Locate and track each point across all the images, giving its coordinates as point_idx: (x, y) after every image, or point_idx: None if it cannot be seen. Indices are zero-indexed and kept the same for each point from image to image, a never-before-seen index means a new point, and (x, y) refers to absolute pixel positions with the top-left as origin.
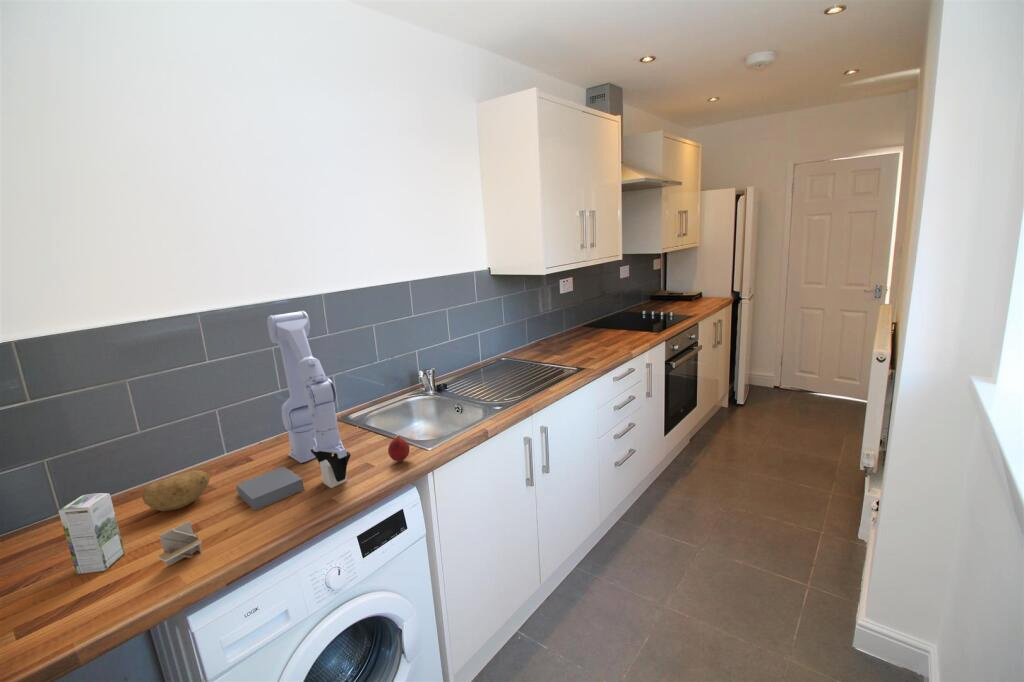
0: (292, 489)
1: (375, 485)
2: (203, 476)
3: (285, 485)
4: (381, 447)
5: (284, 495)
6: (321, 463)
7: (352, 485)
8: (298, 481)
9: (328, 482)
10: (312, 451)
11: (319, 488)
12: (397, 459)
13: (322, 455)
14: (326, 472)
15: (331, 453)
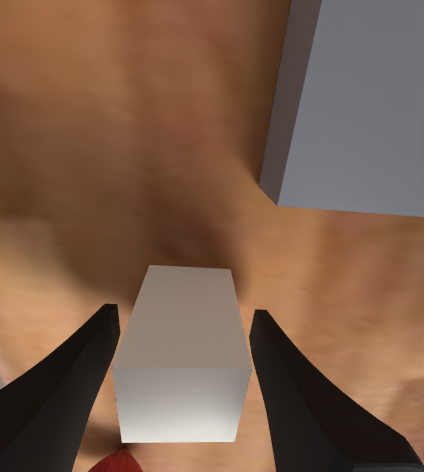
0: (279, 121)
1: (18, 358)
2: None
3: (311, 65)
4: (269, 459)
5: (286, 58)
6: (218, 366)
7: None
8: (280, 175)
9: (166, 279)
10: (371, 466)
11: (195, 234)
12: (89, 470)
13: (292, 425)
14: (159, 320)
15: (273, 448)
